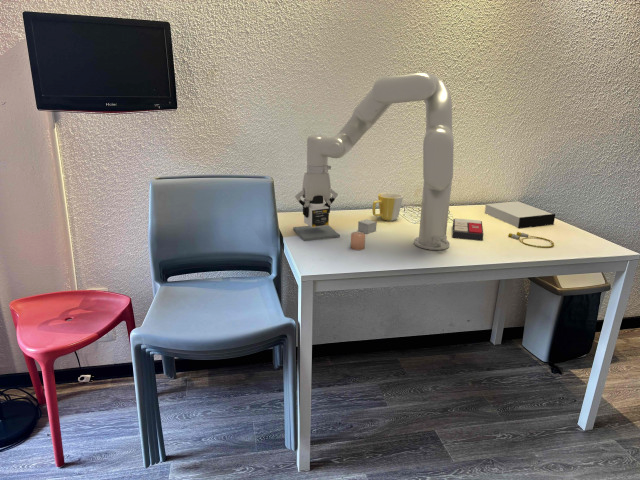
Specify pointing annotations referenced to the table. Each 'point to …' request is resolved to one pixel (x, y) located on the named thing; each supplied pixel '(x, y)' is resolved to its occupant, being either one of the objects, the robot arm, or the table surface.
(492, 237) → the table surface
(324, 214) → the medicine bottle
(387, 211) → the mug
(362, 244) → the terracotta cylinder
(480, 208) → the table surface
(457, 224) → the red and grey box
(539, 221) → the disc drive
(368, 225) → the grey plastic block
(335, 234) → the slate mat
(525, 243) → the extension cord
